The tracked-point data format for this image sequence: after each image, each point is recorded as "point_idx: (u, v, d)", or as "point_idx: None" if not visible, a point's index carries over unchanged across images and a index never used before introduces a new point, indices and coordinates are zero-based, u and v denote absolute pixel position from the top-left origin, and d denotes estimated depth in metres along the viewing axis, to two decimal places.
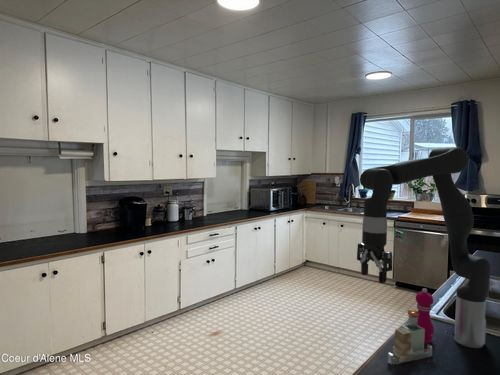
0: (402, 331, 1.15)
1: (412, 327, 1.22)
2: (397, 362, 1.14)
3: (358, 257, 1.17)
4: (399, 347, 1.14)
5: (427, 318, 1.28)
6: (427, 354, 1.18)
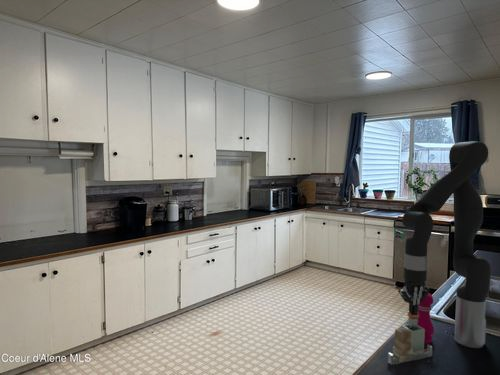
0: (402, 331, 1.15)
1: (412, 329, 1.22)
2: (397, 362, 1.14)
3: (411, 300, 1.21)
4: (399, 347, 1.14)
5: (427, 318, 1.28)
6: (427, 354, 1.18)
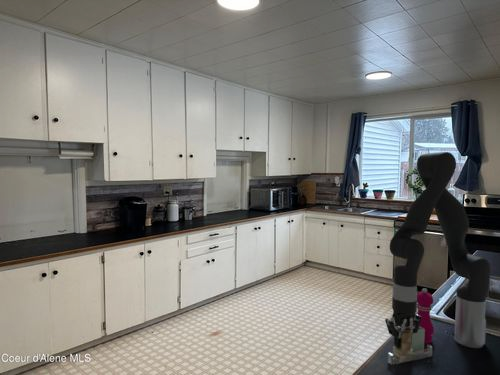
0: None
1: None
2: (397, 362, 1.14)
3: (396, 333, 1.13)
4: None
5: (427, 318, 1.28)
6: (427, 354, 1.18)
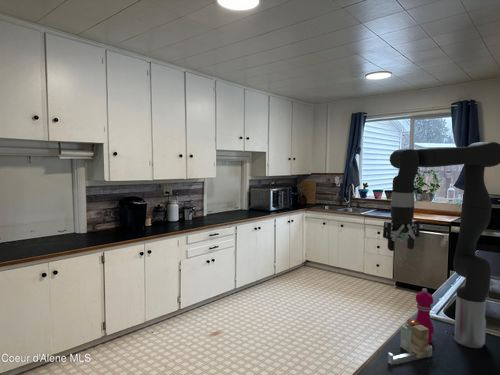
0: (419, 327, 1.17)
1: None
2: (397, 362, 1.14)
3: (389, 236, 1.19)
4: (417, 343, 1.17)
5: (427, 318, 1.28)
6: None
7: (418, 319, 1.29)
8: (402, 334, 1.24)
